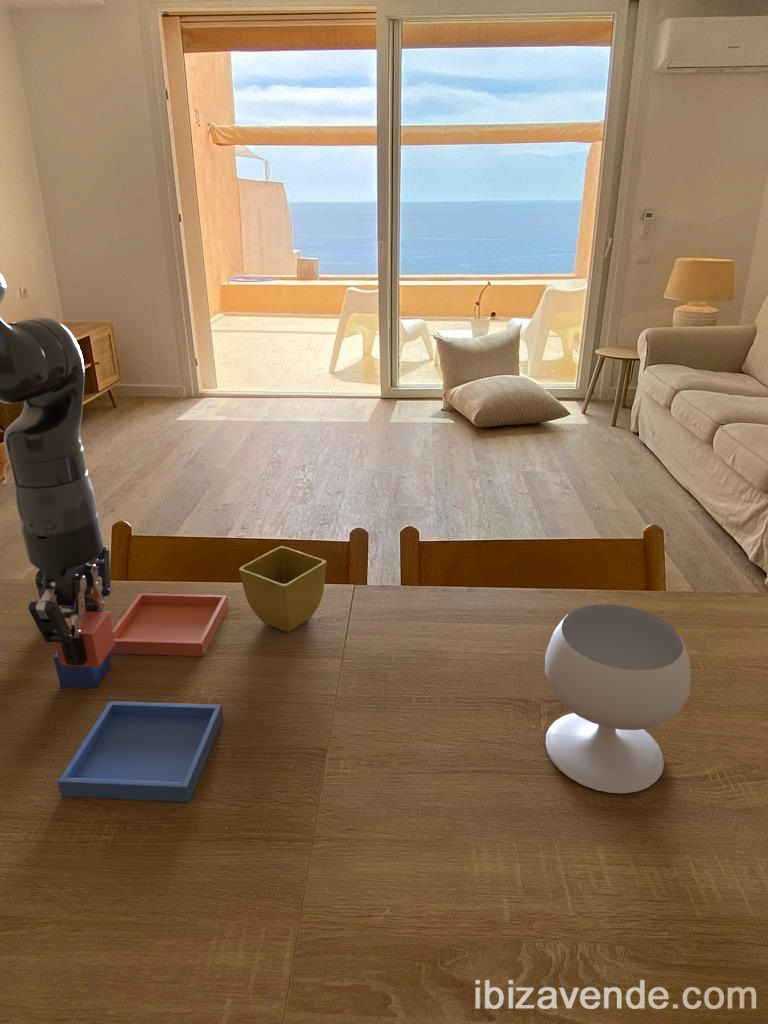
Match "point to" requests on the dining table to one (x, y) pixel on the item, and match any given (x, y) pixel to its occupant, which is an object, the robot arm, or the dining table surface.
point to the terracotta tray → (169, 624)
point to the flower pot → (284, 586)
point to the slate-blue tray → (143, 752)
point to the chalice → (614, 694)
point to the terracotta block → (93, 638)
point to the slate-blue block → (81, 674)
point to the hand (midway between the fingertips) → (87, 649)
